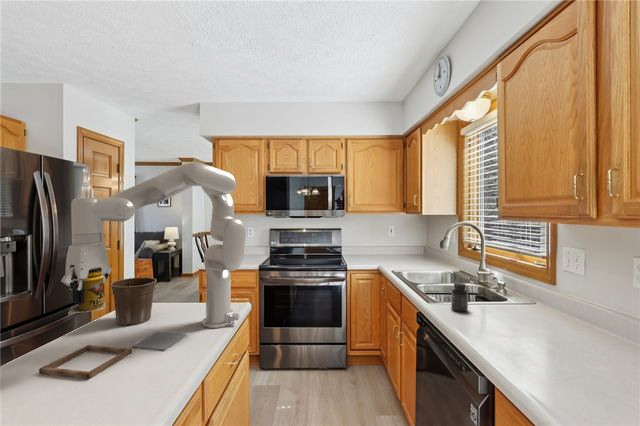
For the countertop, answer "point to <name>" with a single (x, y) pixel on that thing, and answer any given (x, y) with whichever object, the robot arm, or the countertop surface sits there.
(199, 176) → the robot arm
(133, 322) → the plant pot
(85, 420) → the countertop surface
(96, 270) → the condiment
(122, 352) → the wooden square frame
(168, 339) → the mat
